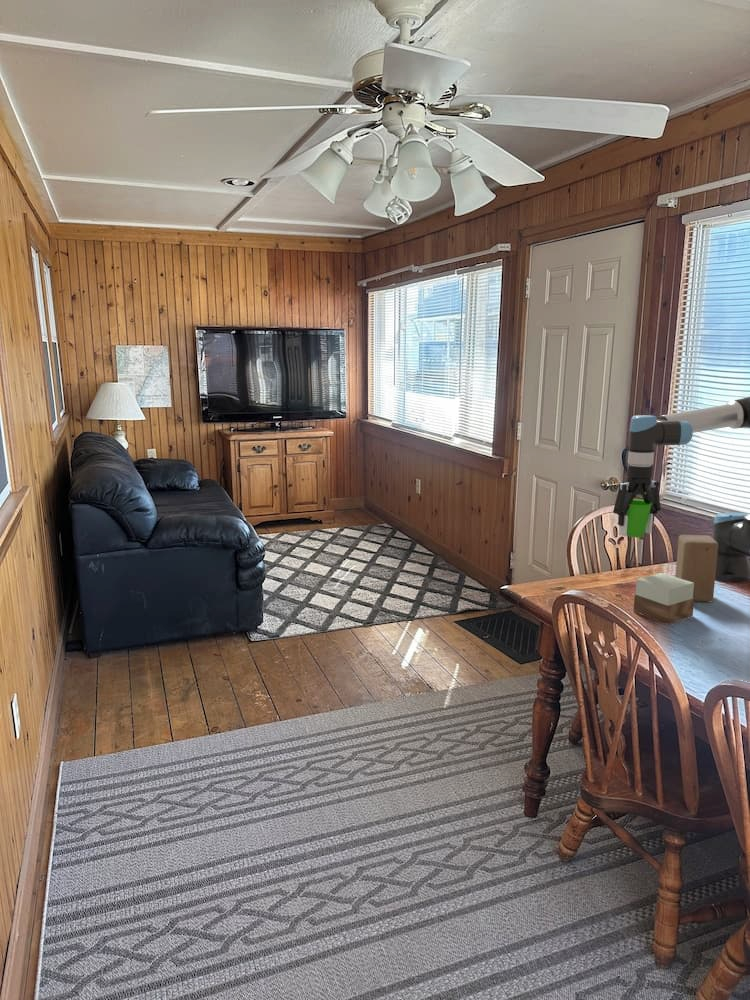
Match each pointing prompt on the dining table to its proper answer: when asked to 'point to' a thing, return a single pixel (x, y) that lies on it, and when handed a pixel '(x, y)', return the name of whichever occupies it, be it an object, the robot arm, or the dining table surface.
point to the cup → (637, 518)
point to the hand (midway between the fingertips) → (635, 534)
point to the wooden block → (698, 564)
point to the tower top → (664, 589)
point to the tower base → (663, 609)
